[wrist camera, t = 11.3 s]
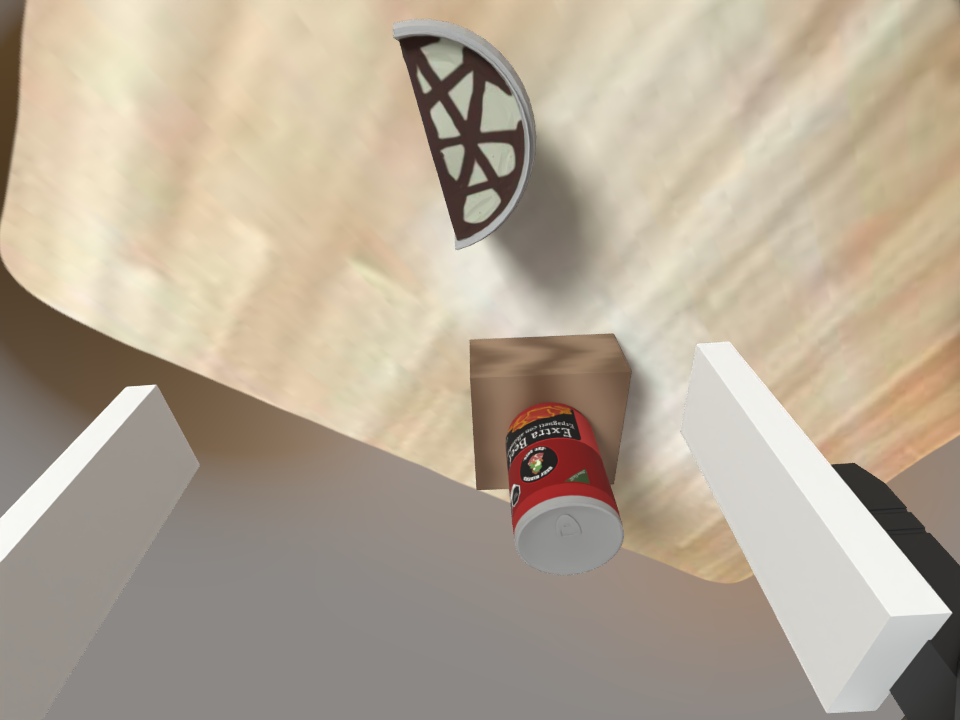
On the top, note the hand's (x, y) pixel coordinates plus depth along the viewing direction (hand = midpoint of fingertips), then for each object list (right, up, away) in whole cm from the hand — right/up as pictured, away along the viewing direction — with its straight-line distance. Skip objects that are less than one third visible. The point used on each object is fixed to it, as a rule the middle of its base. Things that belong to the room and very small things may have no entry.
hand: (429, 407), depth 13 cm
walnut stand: (+7, -2, +36) cm, 37 cm away
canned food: (+7, -5, +32) cm, 33 cm away
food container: (+1, +19, +23) cm, 30 cm away
